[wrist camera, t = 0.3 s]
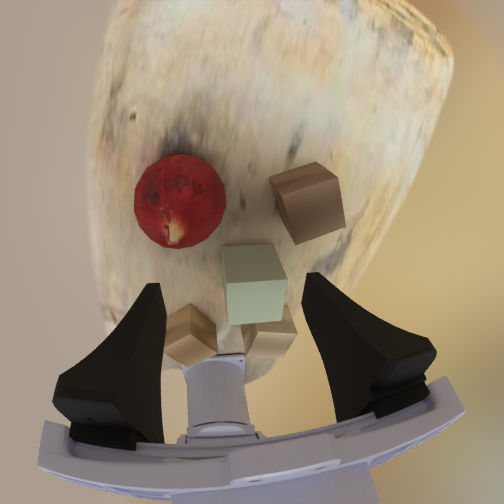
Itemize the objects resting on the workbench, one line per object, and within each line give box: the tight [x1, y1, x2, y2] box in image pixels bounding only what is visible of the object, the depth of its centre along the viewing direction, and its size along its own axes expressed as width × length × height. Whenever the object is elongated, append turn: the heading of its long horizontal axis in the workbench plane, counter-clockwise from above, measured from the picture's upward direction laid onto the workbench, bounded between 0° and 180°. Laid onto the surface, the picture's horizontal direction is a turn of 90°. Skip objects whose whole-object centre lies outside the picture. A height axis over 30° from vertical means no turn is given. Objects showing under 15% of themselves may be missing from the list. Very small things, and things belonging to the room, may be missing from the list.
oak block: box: [163, 304, 218, 367], centre depth 26 cm, size 4×4×4 cm
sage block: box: [222, 244, 288, 325], centre depth 22 cm, size 4×4×5 cm
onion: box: [134, 154, 226, 249], centre depth 16 cm, size 6×6×8 cm
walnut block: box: [269, 162, 346, 245], centre depth 20 cm, size 4×4×4 cm
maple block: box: [241, 306, 298, 358], centre depth 27 cm, size 4×4×4 cm
